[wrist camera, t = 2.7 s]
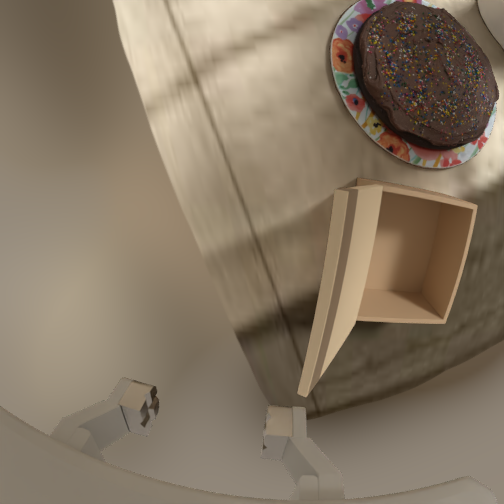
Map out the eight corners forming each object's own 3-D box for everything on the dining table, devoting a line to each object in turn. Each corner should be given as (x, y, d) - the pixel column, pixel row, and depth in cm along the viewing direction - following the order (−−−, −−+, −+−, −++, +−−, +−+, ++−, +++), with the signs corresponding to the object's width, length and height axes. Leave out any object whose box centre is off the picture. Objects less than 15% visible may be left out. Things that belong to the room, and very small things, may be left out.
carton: (443, 193, 36) (477, 205, 27) (421, 294, 41) (445, 323, 33) (357, 177, 37) (377, 184, 28) (339, 288, 42) (351, 320, 34)
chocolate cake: (285, 51, 33) (285, 33, 27) (409, -25, 25) (423, -43, 19) (415, 207, 37) (436, 217, 31) (513, 110, 30) (537, 109, 23)
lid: (347, 191, 16) (334, 189, 17) (306, 397, 22) (296, 393, 22) (383, 185, 28) (375, 184, 28) (355, 323, 33) (348, 321, 33)
